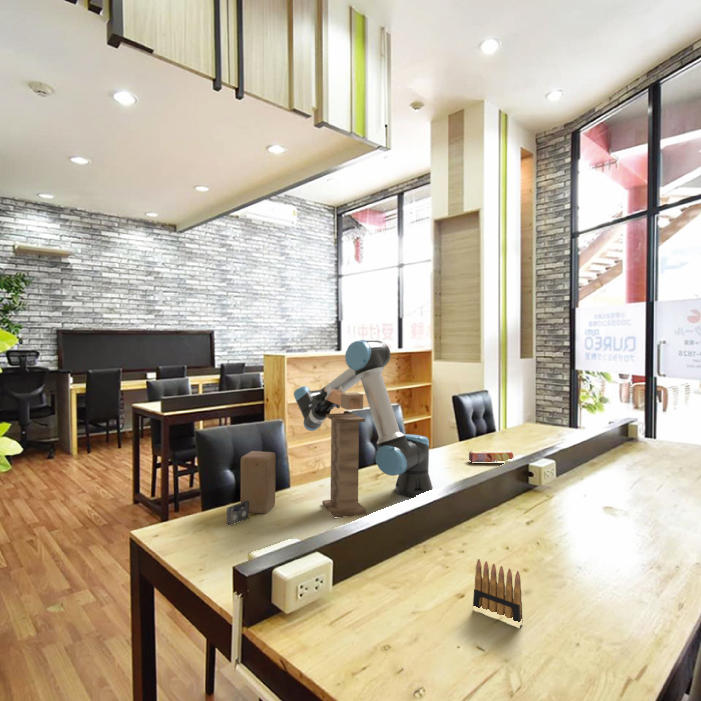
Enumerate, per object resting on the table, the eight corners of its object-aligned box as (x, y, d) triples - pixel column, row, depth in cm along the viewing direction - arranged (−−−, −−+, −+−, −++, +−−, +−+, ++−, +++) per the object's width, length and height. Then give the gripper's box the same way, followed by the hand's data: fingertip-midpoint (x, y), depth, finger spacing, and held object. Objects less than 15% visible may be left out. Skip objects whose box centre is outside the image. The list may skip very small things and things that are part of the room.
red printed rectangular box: (471, 465, 229) (471, 451, 229) (468, 461, 236) (468, 448, 236) (513, 465, 229) (514, 452, 229) (509, 462, 236) (509, 449, 236)
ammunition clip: (472, 610, 105) (473, 559, 104) (475, 607, 106) (476, 556, 106) (519, 629, 98) (520, 574, 98) (522, 625, 100) (523, 570, 99)
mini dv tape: (245, 517, 158) (245, 500, 158) (248, 518, 157) (248, 501, 157) (226, 525, 152) (226, 507, 151) (229, 526, 151) (229, 508, 151)
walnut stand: (322, 504, 171) (323, 414, 170) (352, 500, 175) (353, 412, 175) (334, 518, 158) (335, 420, 157) (366, 514, 162) (367, 418, 162)
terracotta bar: (321, 399, 182) (322, 386, 182) (336, 398, 184) (336, 386, 184) (346, 409, 156) (347, 395, 156) (363, 408, 158) (363, 394, 158)
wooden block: (265, 515, 160) (266, 458, 160) (239, 512, 162) (239, 456, 162) (276, 505, 170) (276, 451, 170) (250, 502, 172) (251, 450, 172)
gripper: (340, 419, 196) (358, 397, 177) (301, 421, 190) (316, 399, 171) (337, 402, 199) (355, 380, 180) (299, 404, 193) (313, 381, 174)
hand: (336, 389), depth 175 cm, fingers closed on terracotta bar, 4 cm apart
